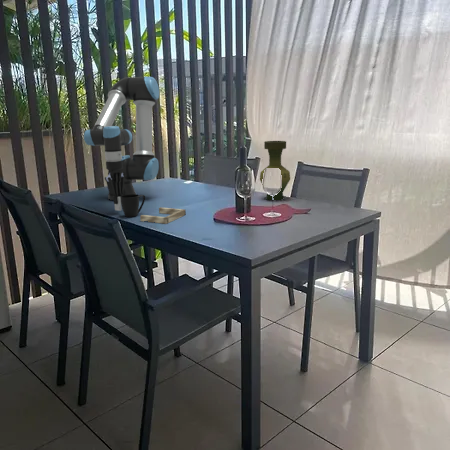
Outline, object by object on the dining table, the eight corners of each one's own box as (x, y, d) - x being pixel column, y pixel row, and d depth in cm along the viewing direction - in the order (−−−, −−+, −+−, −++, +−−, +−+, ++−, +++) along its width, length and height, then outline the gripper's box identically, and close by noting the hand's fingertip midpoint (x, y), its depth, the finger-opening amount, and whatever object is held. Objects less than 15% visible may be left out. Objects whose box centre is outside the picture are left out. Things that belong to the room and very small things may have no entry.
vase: (294, 196, 241) (295, 140, 233) (285, 203, 227) (286, 143, 219) (265, 194, 248) (265, 140, 240) (254, 200, 234) (254, 142, 226)
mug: (150, 214, 210) (149, 194, 207) (127, 219, 203) (125, 198, 200) (141, 211, 216) (140, 192, 214) (119, 215, 209) (117, 195, 206)
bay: (140, 221, 198) (140, 215, 198) (160, 212, 213) (160, 207, 213) (166, 223, 193) (166, 218, 192) (185, 214, 208) (185, 209, 207)
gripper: (111, 162, 199) (116, 213, 205) (129, 159, 210) (132, 207, 217) (98, 161, 202) (103, 212, 208) (116, 158, 213) (120, 206, 220)
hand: (118, 210), depth 212 cm, fingers closed
